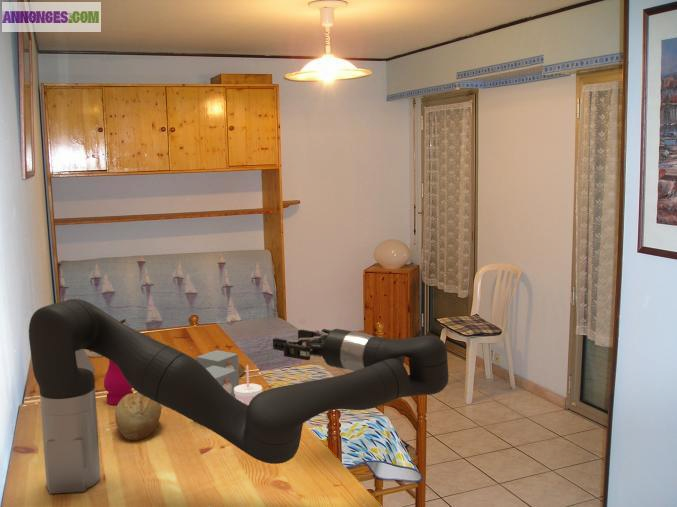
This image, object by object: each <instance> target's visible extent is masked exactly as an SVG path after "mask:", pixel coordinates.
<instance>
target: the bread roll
mask: <svg viewBox="0 0 677 507" xmlns="http://www.w3.org/2000/svg"><path fill="white" fill-rule="evenodd" d="M161 415H162V405H161V404H159V403H157V402H155V401H153V400H151V399H149V398H148V397H146V396H144V395H142V394H140V393H138V392H137V391H136V392H133V393H131V394H127V395H126V396H124V397H123V398H122V399H121V400H120V402H119V403H118V405H116V407H115V411H114V419H115V423H116V426H117V429H118V430H119V432H120V434H121V435H122V436H123V437H125V438H126V439H128V440H132V441H138V440H139V441H140V440H143V439H144V438H147V437H148V436H150V435H151V434H152V433H153V432H154V431H155V429H156V428H157V427H158V423H159V420H160V418H161Z"/></svg>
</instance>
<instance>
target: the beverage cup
mask: <svg viewBox="0 0 677 507" xmlns="http://www.w3.org/2000/svg"><path fill="white" fill-rule="evenodd" d="M249 367H250V366H249V365H248V364H247V365H246V366H245V371H246V383H243V384H239V385H238V386H236V387H234V394H235V397H236V399H237V400H239V401H241V402H242V403H244V404H246V405H249V403H250V401H251V400H252V398H254V397H255V396H256V395H257V394H259V393H261V392H263V386H262V385H261V384H257V383H252V382H251V383H250V374H249V373H250V372H249V371H250V370H249Z"/></svg>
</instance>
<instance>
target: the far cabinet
mask: <svg viewBox="0 0 677 507" xmlns="http://www.w3.org/2000/svg"><path fill="white" fill-rule="evenodd" d="M196 360H197V361H198V362H199V363H200V364H201V365H202V366H204V367H205V368H208V367H210V366H213V365H214V366H218V367H223V368H228V369H233V370H236V374H237V386H238V385H240V377H239V366H238V361H239V354H238V353H233V352H231V351H230V352H229V351H224V350H219V349H216V350H213V351H210V352H207V353H204V354H201V355H198V356H196Z"/></svg>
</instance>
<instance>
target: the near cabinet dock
mask: <svg viewBox="0 0 677 507" xmlns="http://www.w3.org/2000/svg"><path fill="white" fill-rule="evenodd" d="M206 369H207V370H208V371H209V372H210V374H211V375H212V376H213V377H214V378H215V379H216V380H217V381H218V382H219V384H220V385H221V386H222V387H223V388H224V389H225V390H226V391H227V392H228V393H229V394H231V395H232V396H233V397H235V394H234V387H236V386H237V374H236V370H233V369H228V368H223V367H218V366H214V365H213V366H210V367H208V368H206ZM235 398H236V397H235Z"/></svg>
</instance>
